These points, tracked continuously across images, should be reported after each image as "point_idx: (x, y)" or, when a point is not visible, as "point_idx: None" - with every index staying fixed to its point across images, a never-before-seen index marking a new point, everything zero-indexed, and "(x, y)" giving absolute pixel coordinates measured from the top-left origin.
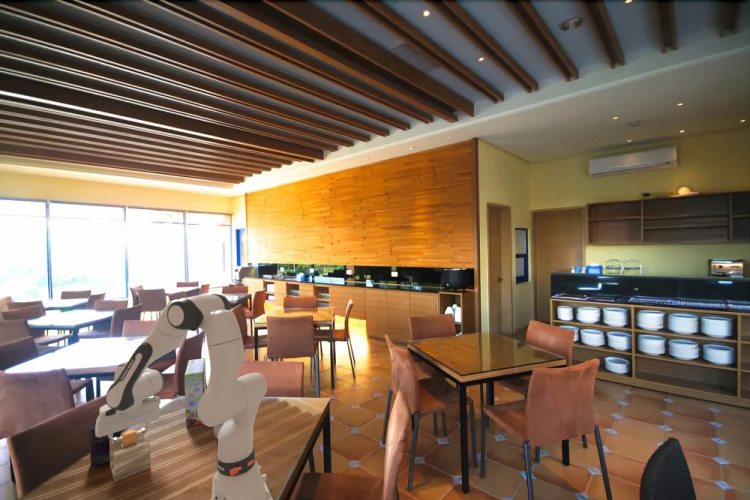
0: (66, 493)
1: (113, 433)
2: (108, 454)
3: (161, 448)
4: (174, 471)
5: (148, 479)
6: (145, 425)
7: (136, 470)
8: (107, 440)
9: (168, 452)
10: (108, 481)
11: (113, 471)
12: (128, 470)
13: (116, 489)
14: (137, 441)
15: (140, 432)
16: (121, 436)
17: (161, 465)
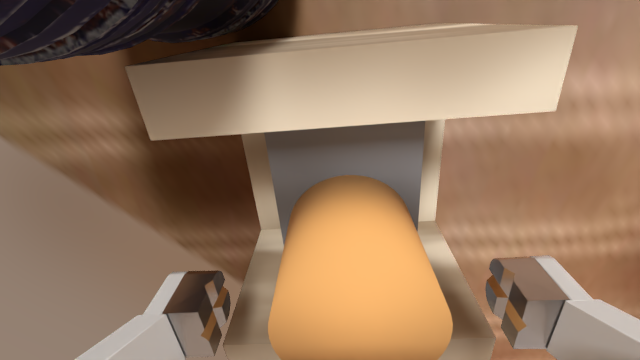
0: (78, 184)
1: (125, 27)
2: (195, 39)
3: None
4: (488, 315)
5: None
6: (608, 338)
7: None
8: (101, 50)
9: (550, 147)
10: (245, 213)
11: (258, 207)
12: None
13: None
14: (416, 218)
15: (498, 114)
16: (270, 77)
17: (467, 245)
